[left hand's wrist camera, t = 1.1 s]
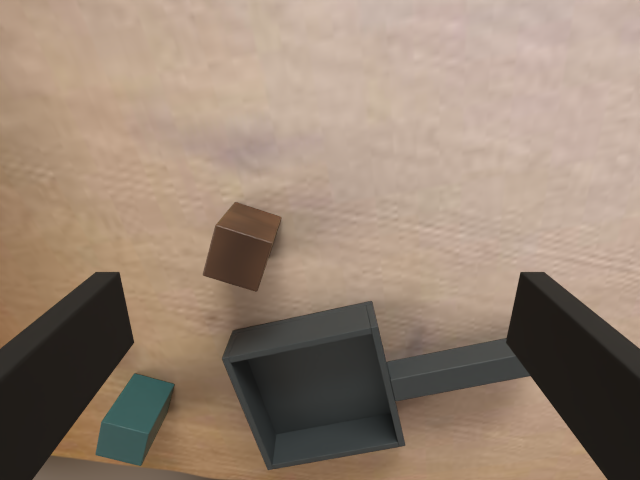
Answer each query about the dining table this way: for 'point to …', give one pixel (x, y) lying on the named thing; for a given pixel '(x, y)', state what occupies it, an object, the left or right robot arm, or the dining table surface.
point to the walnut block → (241, 246)
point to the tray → (342, 383)
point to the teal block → (134, 420)
